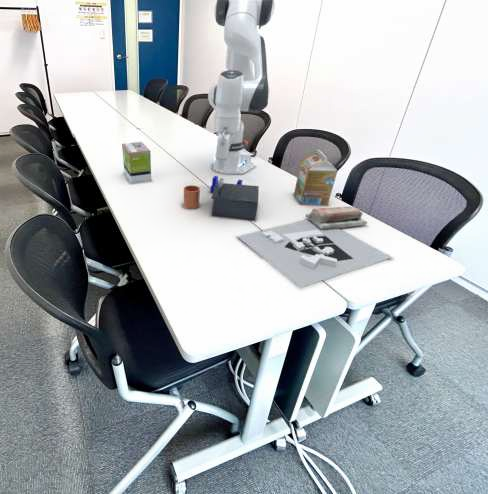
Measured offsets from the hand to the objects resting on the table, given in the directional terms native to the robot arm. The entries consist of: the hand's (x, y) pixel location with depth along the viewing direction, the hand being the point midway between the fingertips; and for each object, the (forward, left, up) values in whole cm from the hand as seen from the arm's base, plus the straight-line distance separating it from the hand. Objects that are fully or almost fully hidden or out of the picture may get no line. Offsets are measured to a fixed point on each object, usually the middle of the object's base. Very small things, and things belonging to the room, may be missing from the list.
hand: (222, 164), depth 121 cm
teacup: (+6, -9, -17) cm, 21 cm away
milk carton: (-35, +19, -18) cm, 43 cm away
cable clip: (-14, -8, -18) cm, 24 cm away
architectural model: (0, +38, -18) cm, 42 cm away
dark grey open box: (-4, +5, -17) cm, 19 cm away
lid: (-3, +5, -11) cm, 12 cm away
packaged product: (-23, +35, -17) cm, 45 cm away
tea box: (+3, -48, -18) cm, 51 cm away
